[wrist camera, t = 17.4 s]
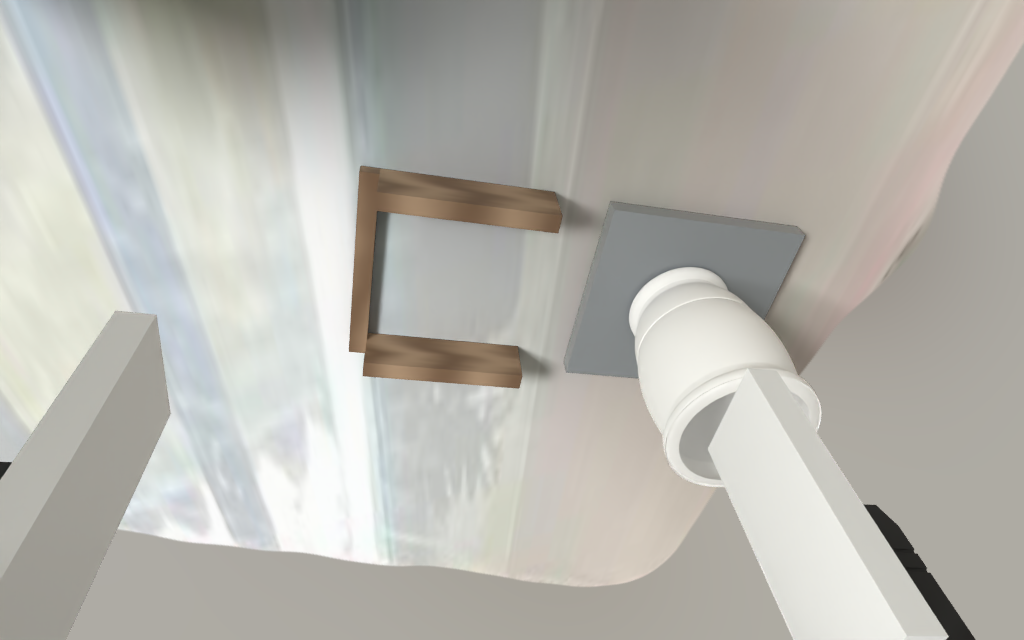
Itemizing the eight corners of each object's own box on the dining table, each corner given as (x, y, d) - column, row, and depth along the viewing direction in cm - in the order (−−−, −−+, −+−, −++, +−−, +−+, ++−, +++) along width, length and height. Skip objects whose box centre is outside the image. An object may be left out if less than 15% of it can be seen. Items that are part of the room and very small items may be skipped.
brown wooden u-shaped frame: (350, 344, 57) (345, 374, 54) (360, 165, 48) (355, 189, 45) (514, 358, 60) (519, 388, 56) (554, 191, 51) (562, 215, 47)
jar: (649, 374, 60) (704, 508, 48) (593, 299, 55) (638, 429, 43) (758, 315, 57) (844, 442, 45) (709, 229, 52) (792, 348, 40)
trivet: (563, 361, 60) (566, 372, 59) (610, 201, 51) (614, 210, 50) (725, 375, 63) (731, 386, 62) (797, 226, 54) (805, 235, 53)
